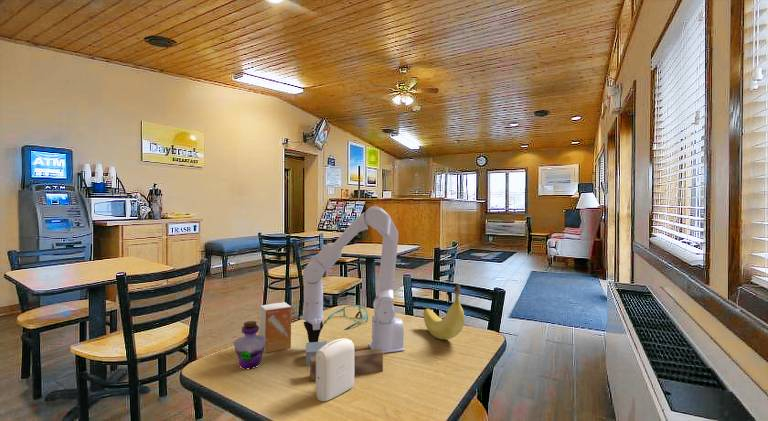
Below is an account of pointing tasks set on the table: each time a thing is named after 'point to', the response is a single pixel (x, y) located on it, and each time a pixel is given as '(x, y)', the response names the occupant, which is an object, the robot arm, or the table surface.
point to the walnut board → (358, 362)
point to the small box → (276, 326)
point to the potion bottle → (250, 346)
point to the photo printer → (334, 369)
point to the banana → (446, 320)
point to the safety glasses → (356, 315)
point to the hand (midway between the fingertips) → (313, 345)
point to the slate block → (313, 349)
